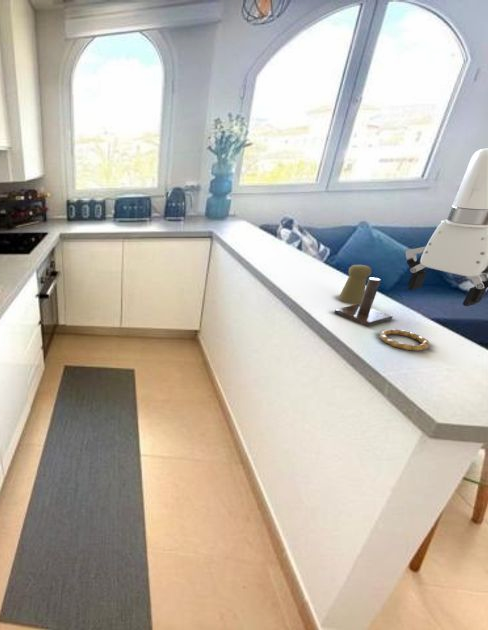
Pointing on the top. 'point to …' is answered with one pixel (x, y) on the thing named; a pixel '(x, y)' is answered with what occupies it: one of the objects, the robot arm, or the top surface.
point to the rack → (365, 307)
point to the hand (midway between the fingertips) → (439, 296)
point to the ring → (400, 345)
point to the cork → (355, 284)
